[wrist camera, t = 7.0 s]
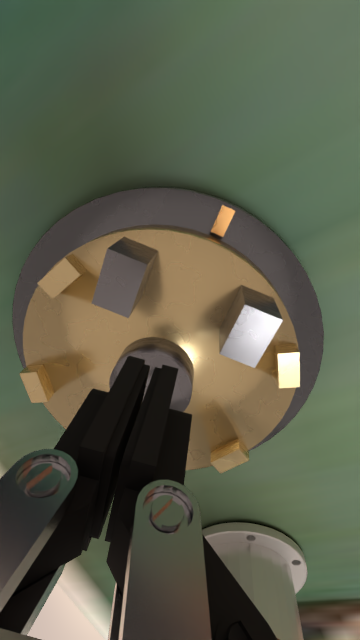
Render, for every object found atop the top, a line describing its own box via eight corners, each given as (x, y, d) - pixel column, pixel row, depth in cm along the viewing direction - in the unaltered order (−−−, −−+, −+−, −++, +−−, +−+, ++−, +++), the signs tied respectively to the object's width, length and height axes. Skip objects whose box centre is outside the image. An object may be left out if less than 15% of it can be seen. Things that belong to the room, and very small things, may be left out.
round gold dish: (224, 478, 27) (225, 539, 23) (20, 402, 26) (-21, 450, 22) (348, 292, 20) (386, 329, 15) (67, 175, 19) (19, 177, 14)
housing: (286, 466, 28) (290, 483, 27) (43, 436, 30) (34, 451, 29) (355, 197, 19) (366, 199, 18) (-1, 177, 21) (-19, 177, 19)
